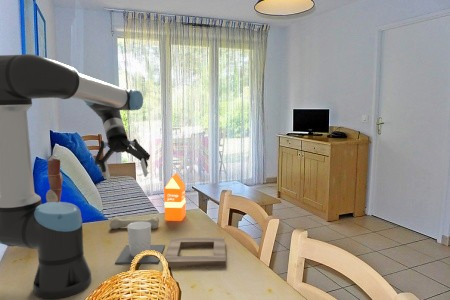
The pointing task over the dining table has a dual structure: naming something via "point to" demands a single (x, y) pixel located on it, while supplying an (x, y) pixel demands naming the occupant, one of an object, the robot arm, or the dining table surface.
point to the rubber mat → (127, 258)
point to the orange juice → (174, 199)
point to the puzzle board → (196, 261)
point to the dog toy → (118, 222)
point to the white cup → (139, 237)
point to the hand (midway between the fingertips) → (128, 176)
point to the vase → (54, 181)
